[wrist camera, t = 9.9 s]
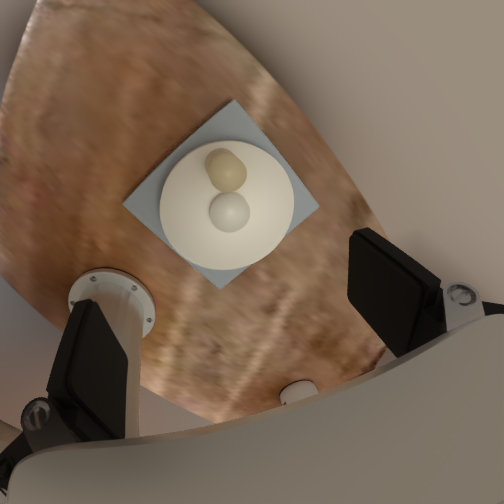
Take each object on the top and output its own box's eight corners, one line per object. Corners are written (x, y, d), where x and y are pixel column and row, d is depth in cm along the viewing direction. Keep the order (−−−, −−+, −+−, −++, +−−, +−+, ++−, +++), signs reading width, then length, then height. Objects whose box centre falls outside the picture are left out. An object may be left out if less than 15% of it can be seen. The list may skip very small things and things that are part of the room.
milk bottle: (284, 381, 52) (320, 469, 35) (318, 377, 54) (358, 456, 37) (275, 402, 55) (304, 482, 38) (307, 397, 57) (340, 472, 40)
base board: (218, 283, 38) (220, 289, 36) (124, 200, 30) (122, 204, 28) (314, 202, 35) (319, 206, 34) (232, 99, 27) (234, 99, 26)
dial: (306, 166, 31) (337, 183, 25) (259, 272, 36) (276, 306, 30) (185, 122, 26) (185, 125, 20) (147, 245, 31) (141, 279, 25)
